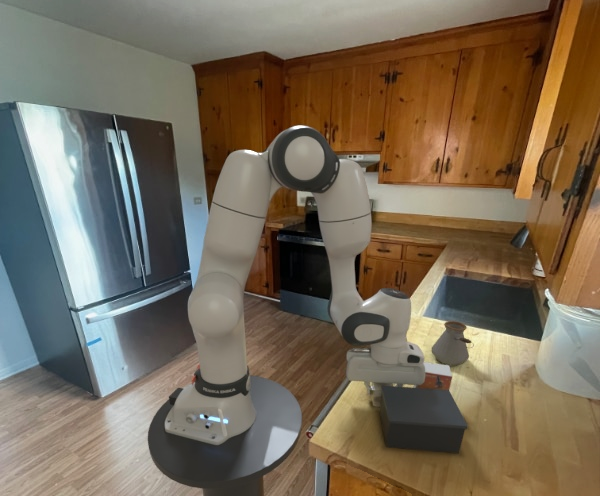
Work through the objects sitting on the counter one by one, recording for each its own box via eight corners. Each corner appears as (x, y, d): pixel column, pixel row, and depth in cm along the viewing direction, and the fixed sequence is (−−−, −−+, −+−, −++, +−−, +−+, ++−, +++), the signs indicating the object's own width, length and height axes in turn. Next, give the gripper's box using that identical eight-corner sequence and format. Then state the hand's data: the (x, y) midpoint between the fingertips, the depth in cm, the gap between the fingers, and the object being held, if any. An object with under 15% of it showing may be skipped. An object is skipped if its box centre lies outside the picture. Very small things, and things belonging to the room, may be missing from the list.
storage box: (384, 448, 74) (389, 420, 71) (378, 410, 86) (381, 385, 83) (460, 454, 73) (468, 426, 70) (443, 415, 85) (449, 390, 82)
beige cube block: (372, 406, 88) (375, 389, 86) (370, 392, 93) (372, 375, 91) (391, 407, 87) (394, 390, 85) (388, 393, 93) (390, 377, 91)
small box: (413, 404, 89) (419, 371, 85) (412, 392, 94) (418, 360, 90) (445, 410, 87) (452, 376, 83) (442, 397, 92) (449, 364, 88)
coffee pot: (427, 349, 116) (434, 310, 111) (462, 353, 114) (471, 313, 109) (439, 384, 97) (448, 339, 91) (480, 389, 95) (493, 344, 89)
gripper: (347, 353, 82) (343, 398, 88) (431, 358, 81) (422, 404, 86) (346, 341, 88) (343, 384, 93) (424, 346, 87) (416, 389, 92)
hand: (381, 394), depth 90 cm, fingers closed on beige cube block, 5 cm apart
